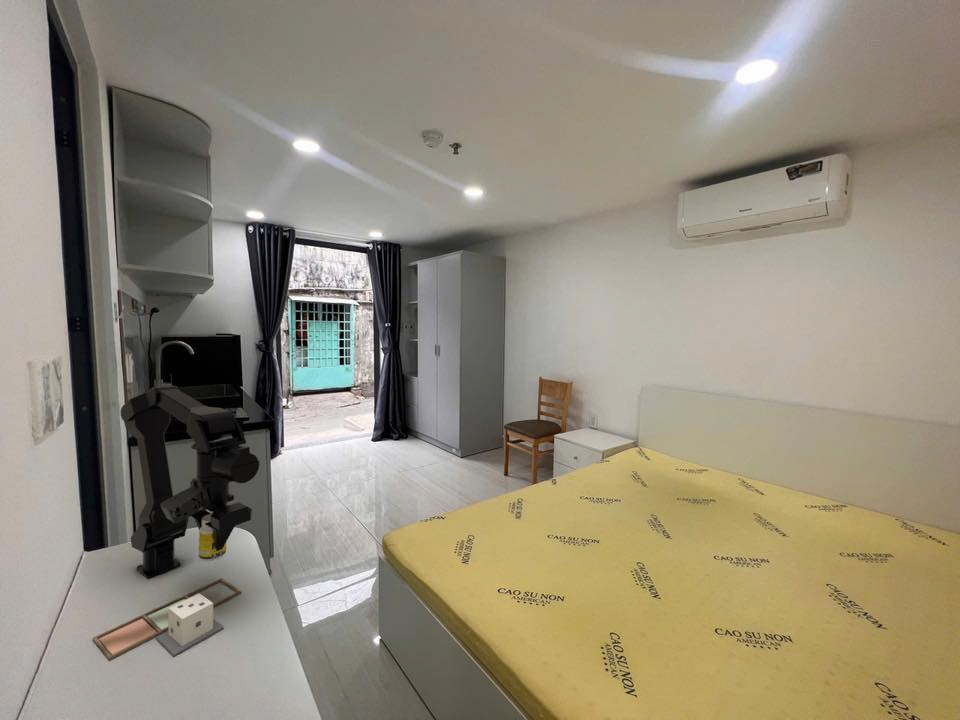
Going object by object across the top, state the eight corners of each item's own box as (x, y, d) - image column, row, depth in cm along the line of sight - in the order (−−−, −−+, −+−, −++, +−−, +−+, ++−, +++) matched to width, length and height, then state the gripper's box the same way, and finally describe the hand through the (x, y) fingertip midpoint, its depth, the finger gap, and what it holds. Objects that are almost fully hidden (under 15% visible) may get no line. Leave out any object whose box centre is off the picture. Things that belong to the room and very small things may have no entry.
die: (168, 634, 73) (167, 607, 72) (198, 618, 77) (199, 592, 77) (182, 646, 70) (182, 619, 70) (213, 628, 75) (213, 602, 74)
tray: (92, 640, 71) (92, 637, 71) (221, 580, 89) (221, 578, 89) (109, 660, 67) (109, 658, 67) (240, 593, 85) (241, 591, 85)
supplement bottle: (212, 564, 81) (212, 523, 80) (193, 560, 82) (193, 520, 81) (231, 551, 85) (232, 513, 85) (213, 548, 86) (213, 510, 86)
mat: (155, 639, 72) (155, 637, 72) (205, 613, 79) (205, 611, 79) (173, 657, 68) (173, 654, 68) (223, 628, 75) (223, 626, 75)
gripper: (145, 473, 80) (146, 548, 81) (190, 496, 71) (190, 581, 72) (207, 459, 90) (206, 527, 91) (254, 478, 80) (252, 554, 81)
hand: (212, 546), depth 83 cm, fingers closed on supplement bottle, 5 cm apart
